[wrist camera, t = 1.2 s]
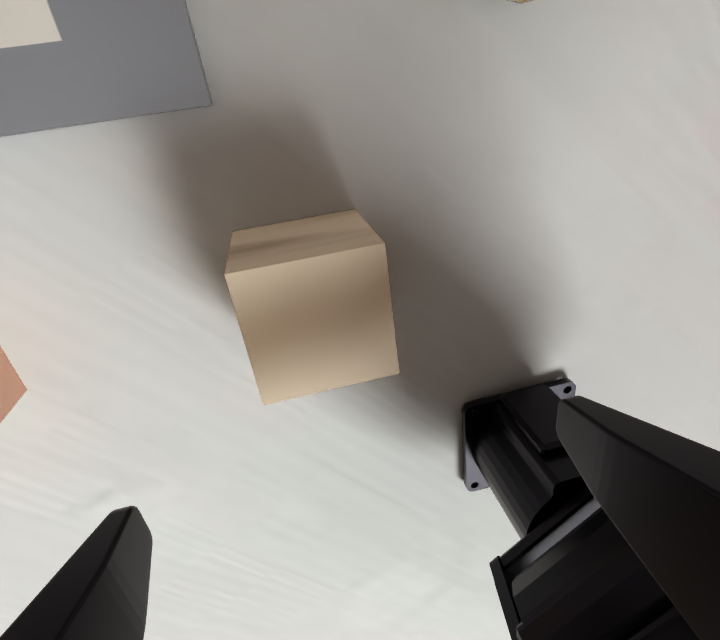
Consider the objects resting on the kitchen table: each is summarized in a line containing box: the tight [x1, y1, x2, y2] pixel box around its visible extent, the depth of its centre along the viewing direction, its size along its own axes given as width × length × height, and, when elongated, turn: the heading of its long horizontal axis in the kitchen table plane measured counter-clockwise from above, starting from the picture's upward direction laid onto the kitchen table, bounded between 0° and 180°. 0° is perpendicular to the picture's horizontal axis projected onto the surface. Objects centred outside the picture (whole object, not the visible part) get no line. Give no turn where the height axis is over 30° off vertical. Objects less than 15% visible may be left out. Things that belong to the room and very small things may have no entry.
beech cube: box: [224, 209, 399, 405], centre depth 17 cm, size 5×5×5 cm
